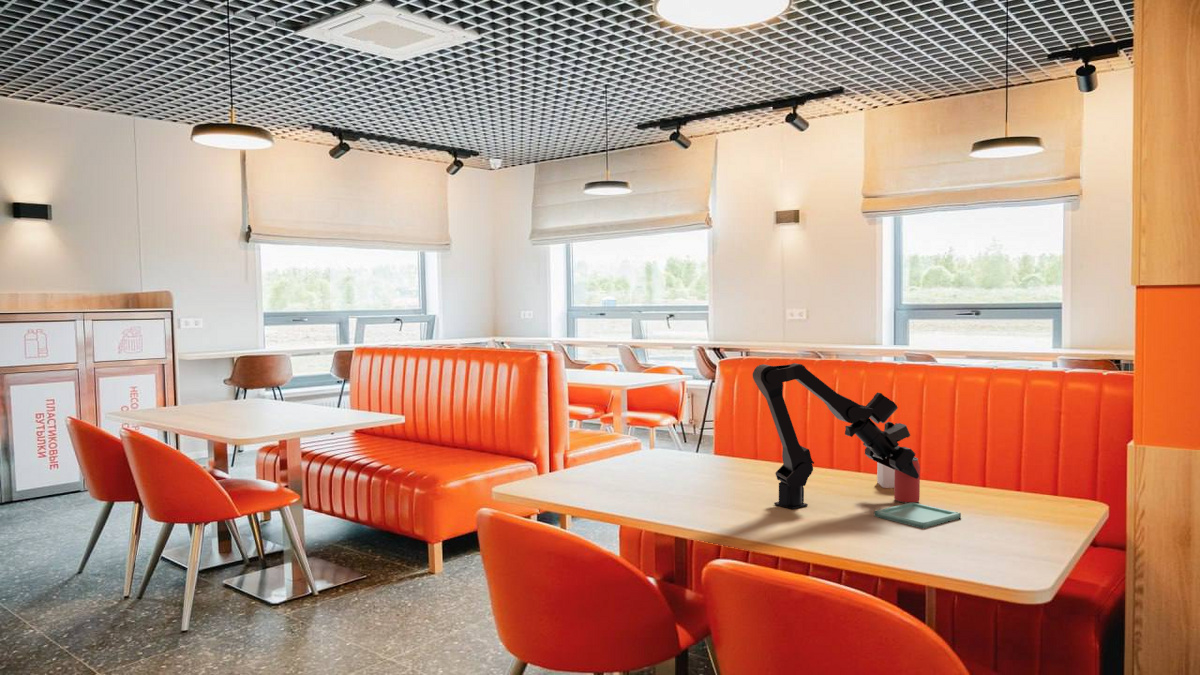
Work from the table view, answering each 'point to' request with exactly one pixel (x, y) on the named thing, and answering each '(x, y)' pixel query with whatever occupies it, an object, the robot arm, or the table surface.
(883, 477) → the medicine bottle
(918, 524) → the tray
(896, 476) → the beer can
